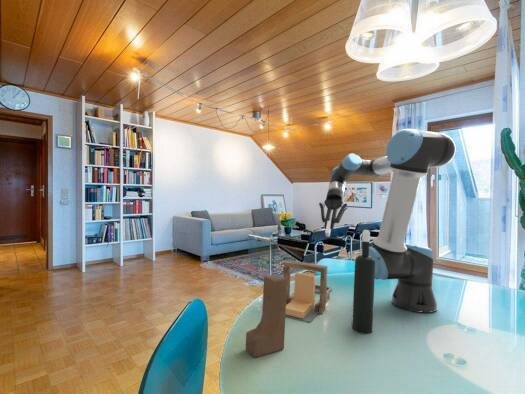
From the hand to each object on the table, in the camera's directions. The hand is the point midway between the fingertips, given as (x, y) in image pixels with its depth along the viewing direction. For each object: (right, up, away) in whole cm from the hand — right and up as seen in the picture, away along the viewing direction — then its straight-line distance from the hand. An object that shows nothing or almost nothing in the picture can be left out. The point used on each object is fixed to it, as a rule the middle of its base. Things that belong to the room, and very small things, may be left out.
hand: (327, 234), depth 121 cm
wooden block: (-27, -23, -49) cm, 61 cm away
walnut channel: (-10, -23, -14) cm, 29 cm away
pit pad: (-3, -24, 0) cm, 24 cm away
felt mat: (-16, -23, -25) cm, 37 cm away
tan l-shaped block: (-15, -23, -24) cm, 36 cm away
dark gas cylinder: (+2, -24, -35) cm, 43 cm away
